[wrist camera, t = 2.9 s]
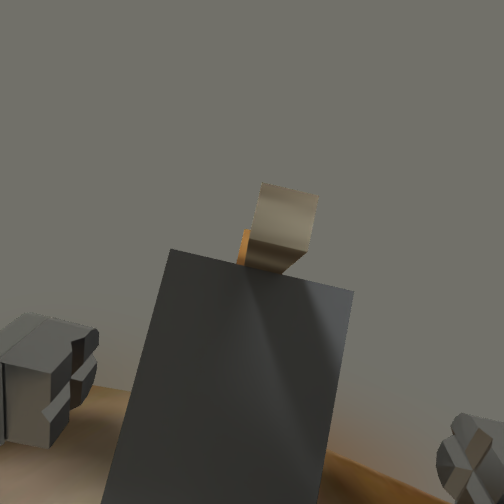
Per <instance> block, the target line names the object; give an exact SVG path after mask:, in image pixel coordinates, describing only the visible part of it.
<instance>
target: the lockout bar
mask: <svg viewBox="0 0 504 504" xmlns="http://www.w3.org/2000/svg"><path fill="white" fill-rule="evenodd" d="M318 198H319V196H318V195H314V194H309V193H305V192H301V191H297V190H293V189H288V188H284V187H280V186H276V185H271V184H267V183H263V182H262V185H261V189H260V193H259V198H258V202H257V206H256V210H255V214H254V219H253V223H252V227H251V230H247V229H245V230H244V234H243V238H242V242H241V247H240V251H239V255H238V259H237V263H236V264H239V265H243V266H247V267H251V268H256V269H260V270H264V271H269V272H273V273H277V274H282V273H283V272H284V271H285V270H286V269H288V268H289V267H290V266H291V265H292V264H294V263H295V262H296V261H297V260H298V259H300V258H301V257H302V256H303V255H304V254H306V253H307V252H308V247H309V242H310V238H311V233H312V228H313V223H314V218H315V212H316V208H317V203H318Z"/></svg>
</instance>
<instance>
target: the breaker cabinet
mask: <svg viewBox="0 0 504 504" xmlns="http://www.w3.org/2000/svg"><path fill="white" fill-rule="evenodd" d="M353 295H354V291H350V290H346V289H342V288H338V287H333V286H329V285H325V284H320V283H316V282H312V281H307V280H303V279H298V278H294V277H290V276H286V275H282V274H277V273H273V272H269V271H264V270H260V269H256V268H251V267H247V266H243V265H239V264H234V263H230V262H226V261H221V260H217V259H213V258H209V257H204V256H200V255H195V254H191V253H187V252H183V251H178V250H174V249H170V252H169V256H168V260H167V263H166V267H165V271H164V275H163V278H162V282H161V286H160V289H159V293H158V296H157V300H156V304H155V307H154V311H153V314H152V318H151V322H150V326H149V330H148V333H147V337H146V340H145V344H144V347H143V351H142V355H141V358H140V362H139V366H138V369H137V373H136V377H135V381H134V384H133V388H132V391H131V395H130V399H129V402H128V406H127V410H126V413H125V417H124V421H123V424H122V428H121V432H120V435H119V439H118V442H117V446H116V450H115V453H114V457H113V461H112V464H111V468H110V472H109V475H108V479H107V483H106V486H105V490H104V494H103V497H102V501H101V504H317V498H318V493H319V487H320V481H321V476H322V470H323V465H324V459H325V453H326V447H327V442H328V436H329V431H330V424H331V419H332V413H333V408H334V402H335V397H336V391H337V385H338V379H339V374H340V368H341V363H342V357H343V351H344V345H345V340H346V334H347V329H348V323H349V317H350V312H351V306H352V300H353Z"/></svg>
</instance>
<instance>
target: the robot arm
mask: <svg viewBox="0 0 504 504" xmlns="http://www.w3.org/2000/svg"><path fill="white" fill-rule="evenodd" d="M98 345H99V332H98V330H97V329H96V328H92V327H88V326H84V325H80V324H77V323H72V322H69V321H65V320H61V319H57V318H51V317H48V316H44V315H40V314H35V313H24V314H22V315H21V316H20V317H18V318H17V319H16V320H14V321H13V322H11V323H10V324H9V325H7V326H6V327H5V328H3V329H2V330H0V446H1V445H3V444H4V443H5V441H9V442H14V443H20V444H25V445H30V446H35V447H40V448H45V449H50V447H51V446H52V445H53V443H54V442H55V440H56V439H57V438H58V436H59V435H60V433H61V432H62V431H63V429H64V428H65V427H66V425H67V424H68V422H69V411H70V410H72V409H74V408H76V407H78V406H80V405H81V404H82V403H83V401H84V400H85V398H86V397H87V395H88V393H89V391H90V389H91V387H92V384H93V382H94V379H95V374H96V370H97V361H96V359H95V357H94V356H93V354H92V353H93V351H94V350H95V349H96V348H97V346H98ZM451 429H452V433H453V435H452V436H450V437H448V438H447V439H445V440H443V441H442V443H441V445H440V447H439V449H438V451H437V458H436V468H437V472H438V476H439V479H440V481H441V484H442V486H443V488H444V489H445V490H446V491H447V492H448V493H449V494H450V495H451V496H452V497H453V498H454V499H455V504H504V422H500V421H495V420H491V419H487V418H482V417H478V416H473V415H468V414H465V413H461V414H459V415H458V416H456V417H455V419H454V421H453V422H452V424H451Z"/></svg>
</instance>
